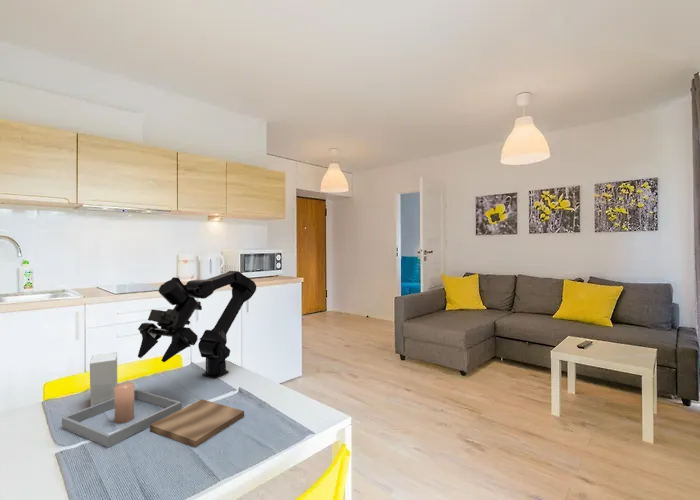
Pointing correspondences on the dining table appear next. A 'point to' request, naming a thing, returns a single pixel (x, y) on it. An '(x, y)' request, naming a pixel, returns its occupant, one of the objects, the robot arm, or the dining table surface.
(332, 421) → the dining table surface
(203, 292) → the robot arm
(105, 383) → the small box
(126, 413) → the copper brown cylinder
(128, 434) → the tray
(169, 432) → the board
